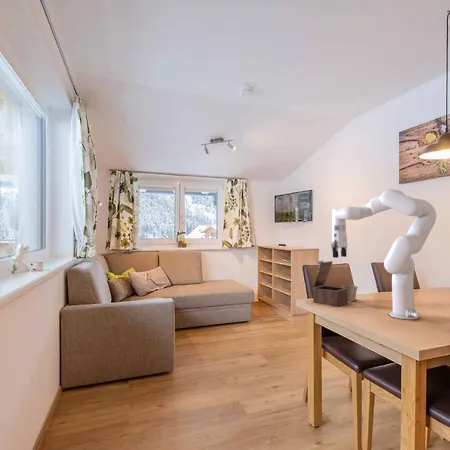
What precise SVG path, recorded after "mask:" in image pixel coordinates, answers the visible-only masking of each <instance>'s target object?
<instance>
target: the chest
mask: <svg viewBox="0 0 450 450" xmlns="http://www.w3.org/2000/svg"><path fill="white" fill-rule="evenodd" d="M312 302H313V303H315V304H320V305H327V306H332V307H341V306H343V305H347V304H349V303H348V302H349V301H348V293H347V288H343V287H340V286H339V287H337V286H333V285H332V286H331V285H326V284H325V285H322V286H317V287H312Z"/></svg>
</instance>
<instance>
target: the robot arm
mask: <svg viewBox="0 0 450 450" xmlns="http://www.w3.org/2000/svg"><path fill="white" fill-rule="evenodd" d="M388 210H394V211H396V212H399V213H401V214H403V215H405V216H408V217H415V219H414V221H413V222H412V223H411V225H410V226H409V229H408V231H407V232H406V234H404V235H401V236H398V237H396V239H395V240H394V241H393V243H392V245H391V246H390V249H389V250H388V252H387V255H386V256H385V258H384V262H383V266H384V270H385V271H386V272H387V273H389V274H391V296H392V311H389V314H388V315H389V316H390V317H392V318H395V319H400V320H418V319H419V317H420V316H421V312H417V309H416V308H415V289H414V279H415V267H416V266H415V261H414V259H413V258H412V255H415V254H418V253H420V252H421V250H422V249H423V246H424V245H425V243H426V241H427V239H428V237H429V235H430V233H431V231H432V230H433V227H434V225H435V223H436V221H437V211H436V209H435V207H434V206H433V204H431V202H428V201H426V200H425V199H421V198H414V197H412V196H409V195H406V194H405V193H404V192H403V191H402V190H398V189H393V188H391V189H386V190H385V191H383V192H382V193H381V195H378V196H374V197H372V198H370V199H369V202H367V203H366V204H363V205H359V206H345V207H335V208H333V209H332V210H331V225H332V238H331V243H330V245H331V246H330V247H331V250H332V258H334V259H335V258H336V259H337V258H339V248H340V257H342V258H343V257H344V258H346V257H347V250H348V236H347V235H348V234H347V223H346V222H347V220H349V221H359V220H363V219H365V218H370V217H372V216H374V215H376V214H378V213H382V212H384V211H388Z"/></svg>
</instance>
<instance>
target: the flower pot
mask: <svg viewBox="0 0 450 450" xmlns="http://www.w3.org/2000/svg"><path fill="white" fill-rule="evenodd" d="M358 287H359V286H357V285H350V284H345V285H344V284H343V285H341V288H347V293H348V302H353V301H356V298H357V297H356V296H357V291H358Z"/></svg>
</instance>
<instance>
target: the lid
mask: <svg viewBox="0 0 450 450" xmlns="http://www.w3.org/2000/svg"><path fill="white" fill-rule="evenodd" d="M333 262H334V261H333V260H331V261H330V260H329V261H323V260H318V261H317V262H316V264H317V265H319V266H318V270H317V272H316V274H315V278H314V280H313V284H312V288H315V287H319V286H324V285H325V286H326V281H327V279H328V276H329V274H330V271H331V268H332V265H333Z"/></svg>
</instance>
